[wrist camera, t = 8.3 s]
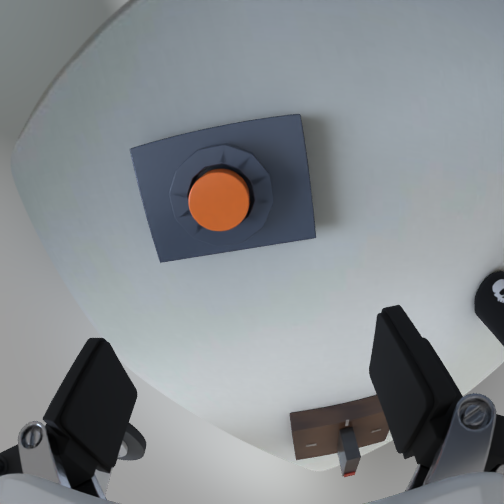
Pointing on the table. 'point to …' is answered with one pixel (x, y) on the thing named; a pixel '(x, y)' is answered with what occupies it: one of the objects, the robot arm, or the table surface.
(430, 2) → the table surface
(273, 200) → the button box
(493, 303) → the beverage can
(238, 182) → the button
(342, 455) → the red-tipped grey block
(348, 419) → the panel
